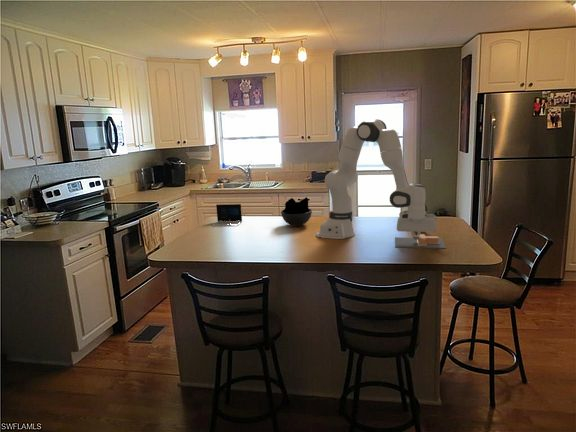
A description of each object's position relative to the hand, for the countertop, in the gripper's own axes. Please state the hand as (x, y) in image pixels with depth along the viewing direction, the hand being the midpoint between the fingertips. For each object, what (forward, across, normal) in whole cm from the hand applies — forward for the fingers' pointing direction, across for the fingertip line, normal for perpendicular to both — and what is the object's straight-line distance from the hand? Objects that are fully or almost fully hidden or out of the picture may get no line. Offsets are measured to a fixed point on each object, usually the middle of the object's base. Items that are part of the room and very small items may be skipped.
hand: (415, 239), depth 226 cm
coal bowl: (+2, +73, -35) cm, 81 cm away
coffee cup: (+2, -3, -26) cm, 26 cm away
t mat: (+2, -2, 0) cm, 3 cm away
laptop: (+3, +123, -38) cm, 128 cm away
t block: (+2, -6, 0) cm, 7 cm away
